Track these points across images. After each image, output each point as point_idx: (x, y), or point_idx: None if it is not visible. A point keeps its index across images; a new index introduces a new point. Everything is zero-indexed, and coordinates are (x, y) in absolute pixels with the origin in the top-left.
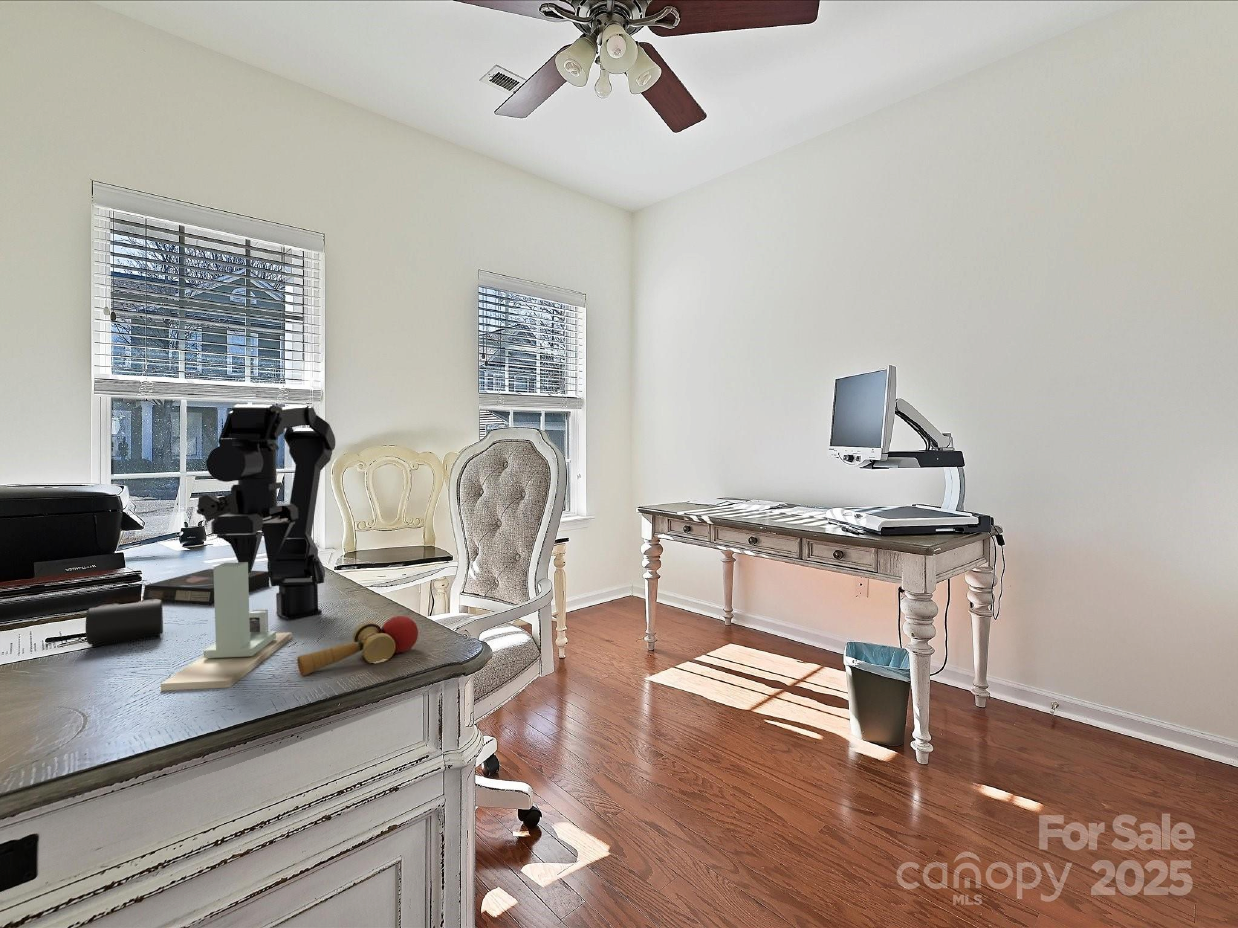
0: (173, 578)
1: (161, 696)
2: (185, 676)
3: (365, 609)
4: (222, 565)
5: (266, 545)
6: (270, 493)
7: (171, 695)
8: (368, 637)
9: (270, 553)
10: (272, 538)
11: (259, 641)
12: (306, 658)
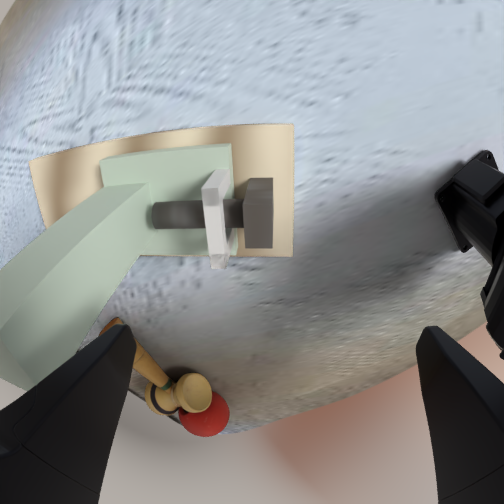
0: None
1: (26, 174)
2: (49, 179)
3: (448, 317)
4: None
5: (472, 397)
6: None
7: (29, 186)
8: (170, 398)
9: (435, 373)
10: (468, 455)
11: (160, 250)
12: None
